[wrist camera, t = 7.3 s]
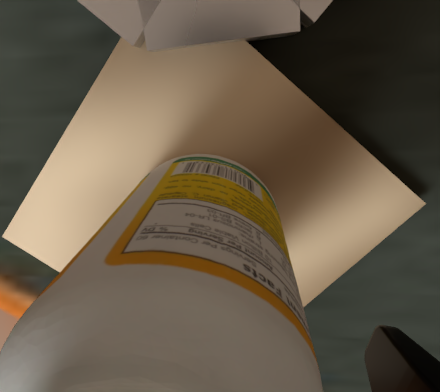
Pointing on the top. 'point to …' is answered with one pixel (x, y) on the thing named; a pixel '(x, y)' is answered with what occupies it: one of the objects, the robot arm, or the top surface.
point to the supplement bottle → (172, 296)
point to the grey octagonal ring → (203, 20)
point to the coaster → (214, 145)
